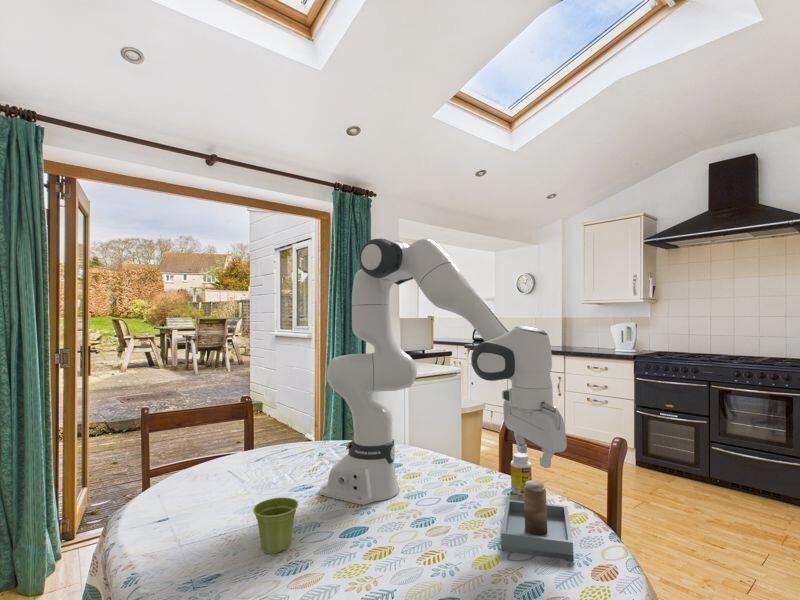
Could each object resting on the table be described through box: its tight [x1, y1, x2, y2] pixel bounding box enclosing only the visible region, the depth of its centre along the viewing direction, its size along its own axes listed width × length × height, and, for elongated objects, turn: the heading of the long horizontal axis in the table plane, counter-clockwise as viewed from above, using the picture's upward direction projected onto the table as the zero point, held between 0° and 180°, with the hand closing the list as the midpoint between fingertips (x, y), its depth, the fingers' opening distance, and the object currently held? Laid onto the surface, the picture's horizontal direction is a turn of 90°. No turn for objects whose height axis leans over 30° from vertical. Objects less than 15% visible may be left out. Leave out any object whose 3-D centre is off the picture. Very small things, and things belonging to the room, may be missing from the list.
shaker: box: [523, 479, 548, 535], centre depth 95 cm, size 5×5×10 cm
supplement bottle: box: [510, 452, 533, 496], centre depth 118 cm, size 6×6×10 cm
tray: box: [500, 499, 574, 561], centre depth 95 cm, size 14×17×4 cm
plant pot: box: [252, 497, 299, 554], centre depth 93 cm, size 9×9×9 cm
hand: (533, 459), depth 96 cm, fingers open, 8 cm apart
